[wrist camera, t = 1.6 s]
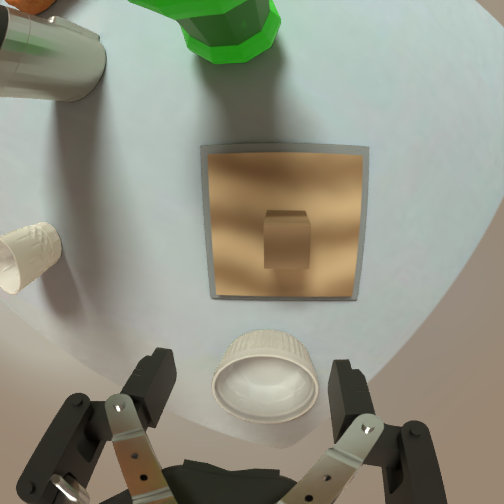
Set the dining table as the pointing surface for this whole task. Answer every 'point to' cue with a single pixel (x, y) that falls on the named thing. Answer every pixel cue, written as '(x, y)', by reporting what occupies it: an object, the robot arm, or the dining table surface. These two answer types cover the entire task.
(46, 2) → the bread
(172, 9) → the plastic bottle
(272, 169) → the oak lid
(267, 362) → the ramekin
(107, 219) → the dining table surface
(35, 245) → the white cup
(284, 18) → the dining table surface
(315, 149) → the grey mat
